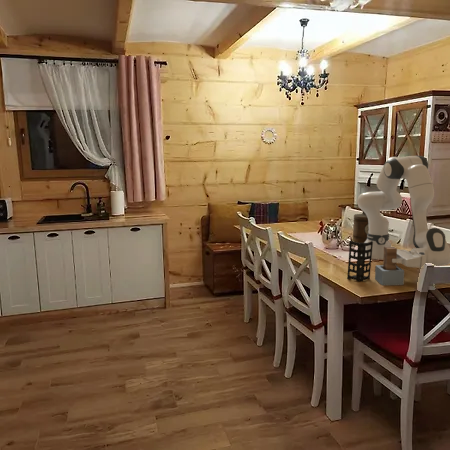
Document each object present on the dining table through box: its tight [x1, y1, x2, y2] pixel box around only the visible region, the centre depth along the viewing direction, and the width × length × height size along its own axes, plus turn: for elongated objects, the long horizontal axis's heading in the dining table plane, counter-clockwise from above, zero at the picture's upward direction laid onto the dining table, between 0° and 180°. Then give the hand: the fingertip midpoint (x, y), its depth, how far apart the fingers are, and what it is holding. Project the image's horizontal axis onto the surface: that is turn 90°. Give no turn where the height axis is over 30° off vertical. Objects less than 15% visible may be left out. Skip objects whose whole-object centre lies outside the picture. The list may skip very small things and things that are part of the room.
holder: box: [346, 240, 373, 282], centre depth 206 cm, size 11×8×20 cm
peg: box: [382, 245, 397, 270], centre depth 202 cm, size 4×4×16 cm
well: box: [374, 264, 405, 286], centre depth 202 cm, size 10×10×7 cm
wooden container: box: [352, 210, 369, 243], centre depth 292 cm, size 15×15×22 cm
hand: (388, 257), depth 201 cm, fingers open, 8 cm apart
